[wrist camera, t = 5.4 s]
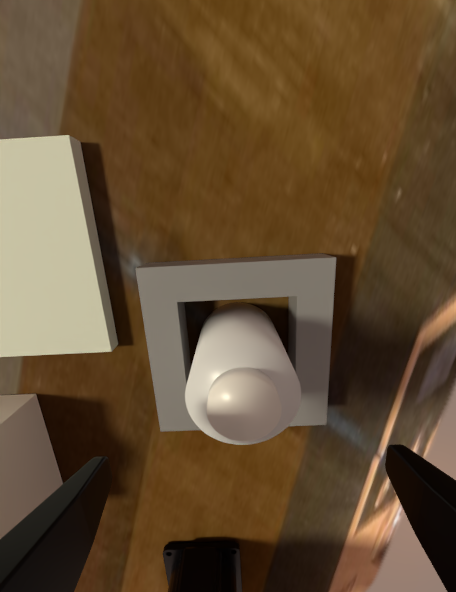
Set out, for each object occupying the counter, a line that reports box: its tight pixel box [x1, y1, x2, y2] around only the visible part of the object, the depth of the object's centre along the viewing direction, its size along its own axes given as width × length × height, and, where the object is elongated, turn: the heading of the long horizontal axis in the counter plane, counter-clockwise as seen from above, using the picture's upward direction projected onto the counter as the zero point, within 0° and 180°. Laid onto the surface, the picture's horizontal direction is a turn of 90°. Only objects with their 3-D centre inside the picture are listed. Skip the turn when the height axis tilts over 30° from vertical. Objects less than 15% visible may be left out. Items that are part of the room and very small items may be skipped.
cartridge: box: [185, 302, 301, 445], centre depth 13 cm, size 5×5×7 cm
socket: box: [135, 253, 336, 431], centre depth 16 cm, size 11×11×2 cm
